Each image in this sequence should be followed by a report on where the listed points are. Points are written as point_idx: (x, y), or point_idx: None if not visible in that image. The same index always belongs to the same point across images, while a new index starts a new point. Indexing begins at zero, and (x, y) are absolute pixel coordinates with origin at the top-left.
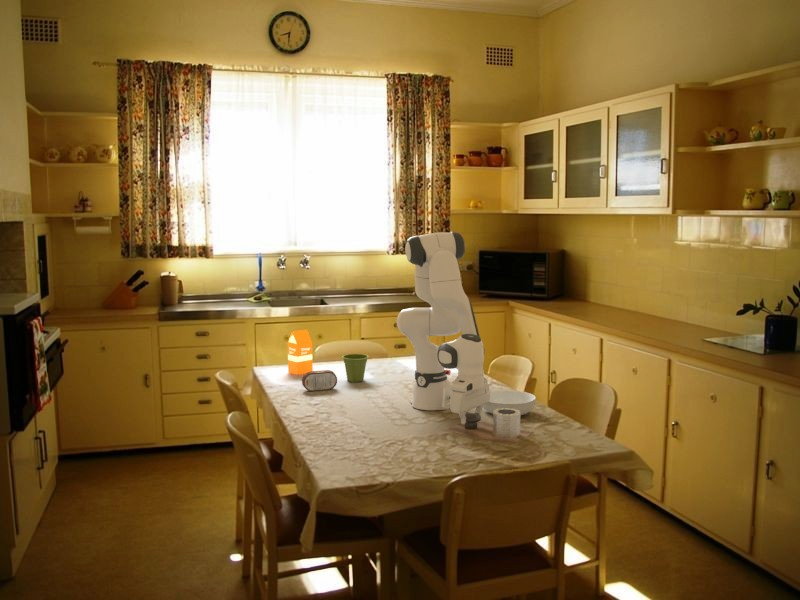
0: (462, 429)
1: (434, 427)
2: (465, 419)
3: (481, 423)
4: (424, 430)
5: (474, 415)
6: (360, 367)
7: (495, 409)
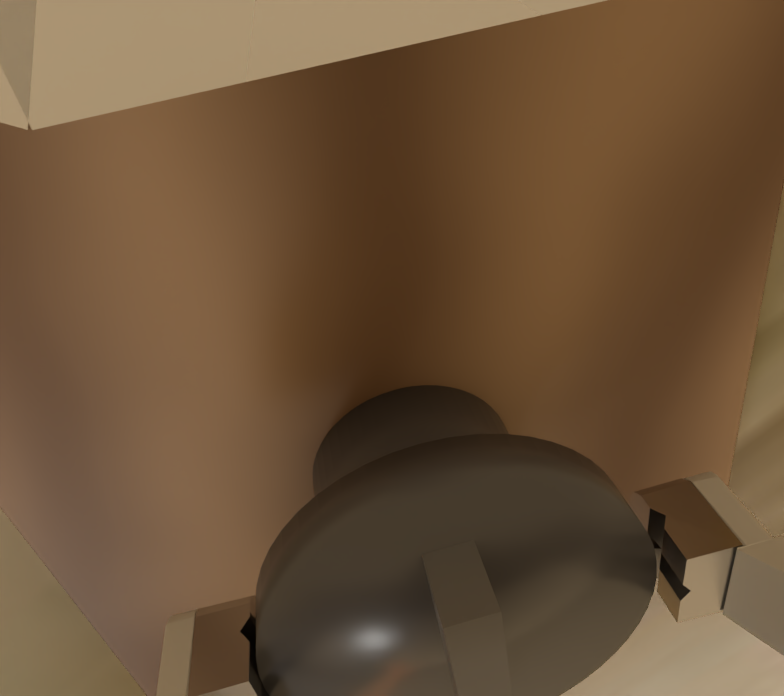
0: None
1: None
2: (753, 532)
3: (115, 537)
4: (671, 649)
5: (495, 604)
6: None
7: (375, 39)
